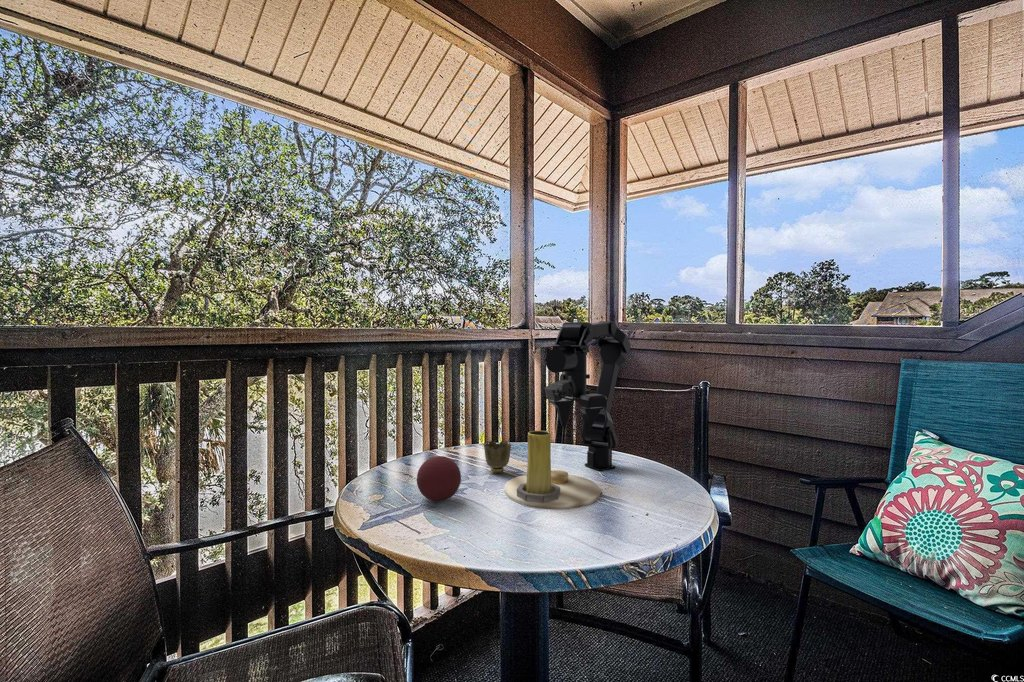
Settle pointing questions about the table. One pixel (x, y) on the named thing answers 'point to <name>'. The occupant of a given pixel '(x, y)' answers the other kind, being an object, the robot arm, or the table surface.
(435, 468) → the decorative ball
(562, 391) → the robot arm
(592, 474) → the table surface
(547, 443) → the vase
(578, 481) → the disc
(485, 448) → the cup
